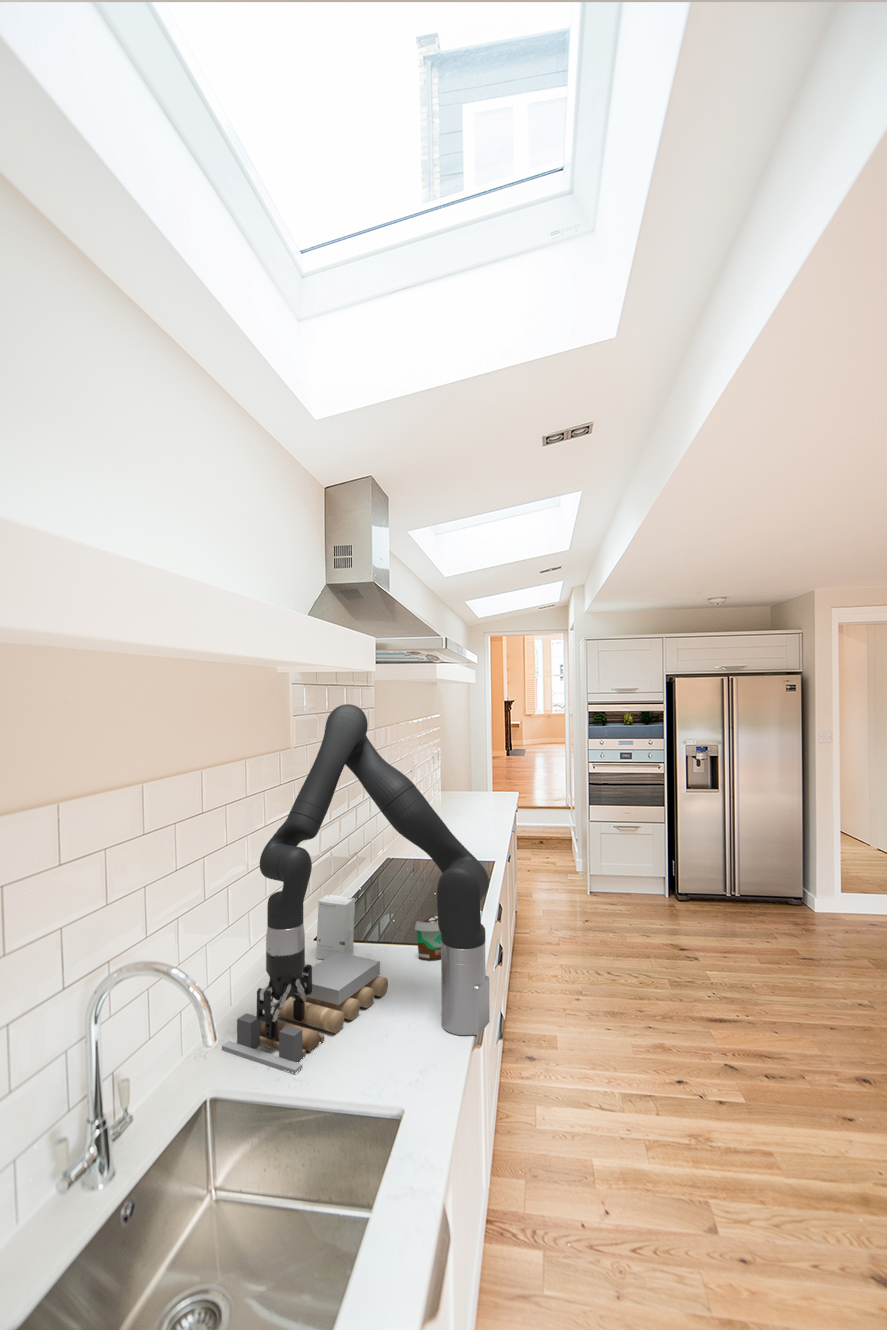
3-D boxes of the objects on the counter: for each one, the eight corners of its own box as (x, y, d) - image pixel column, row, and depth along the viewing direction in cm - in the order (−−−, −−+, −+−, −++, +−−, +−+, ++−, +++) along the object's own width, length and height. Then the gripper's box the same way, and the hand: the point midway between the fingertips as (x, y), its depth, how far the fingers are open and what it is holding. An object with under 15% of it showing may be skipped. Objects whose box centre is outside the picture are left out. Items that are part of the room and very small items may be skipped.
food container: (434, 967, 166) (434, 927, 166) (415, 961, 170) (414, 921, 170) (463, 951, 176) (462, 912, 176) (444, 945, 179) (444, 908, 180)
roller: (252, 1038, 134) (252, 1020, 134) (265, 1029, 137) (264, 1011, 137) (308, 1055, 128) (308, 1037, 128) (320, 1045, 131) (319, 1027, 131)
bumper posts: (310, 1061, 125) (310, 1032, 125) (295, 1074, 121) (295, 1044, 121) (238, 1038, 133) (238, 1010, 134) (221, 1050, 129) (221, 1021, 130)
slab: (379, 974, 153) (379, 961, 153) (338, 1005, 138) (338, 990, 138) (336, 964, 158) (336, 951, 158) (292, 993, 144) (292, 979, 144)
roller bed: (387, 992, 153) (387, 974, 153) (305, 1059, 126) (305, 1037, 126) (334, 979, 160) (334, 962, 160) (245, 1040, 133) (245, 1019, 133)
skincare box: (315, 959, 171) (315, 900, 171) (326, 950, 177) (326, 893, 177) (346, 963, 169) (345, 903, 169) (355, 953, 175) (355, 896, 175)
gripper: (294, 930, 141) (294, 1009, 141) (245, 956, 128) (245, 1042, 128) (322, 936, 138) (322, 1017, 137) (276, 963, 125) (275, 1052, 124)
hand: (285, 1029), depth 133 cm, fingers open, 7 cm apart
